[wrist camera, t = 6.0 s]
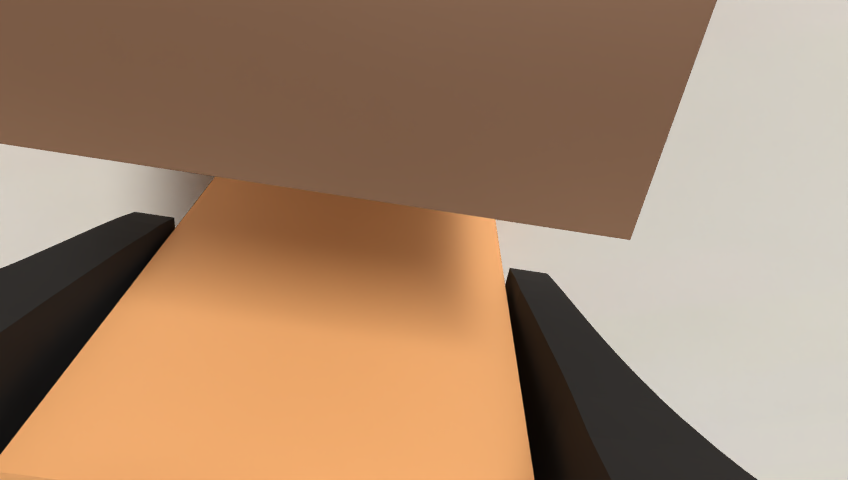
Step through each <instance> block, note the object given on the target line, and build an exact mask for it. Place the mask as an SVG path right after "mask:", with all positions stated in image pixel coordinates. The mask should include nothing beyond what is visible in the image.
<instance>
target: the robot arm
mask: <svg viewBox="0 0 848 480" xmlns="http://www.w3.org/2000/svg"><path fill="white" fill-rule="evenodd" d="M174 229H175V224H174V218H172V217H165V216H159V215H152V214H145V213H139V212H133V213H130V214H127V215H124V216H122V217H119V218H117V219H114V220H112V221H109V222H107V223H104V224H102V225H100V226H97V227H95V228H93V229H91V230H88V231H86V232H84V233H82V234H79V235H77V236H75V237H73V238H70V239H68V240H66V241H64V242H61V243H59V244H57V245H54V246H52V247H50V248H48V249H45V250H43V251H41V252H39V253H36V254H34V255H32V256H29V257H27V258H25V259H23V260H20V261H18V262H16V263H13V264H11V265H8V266H6V267H3V268H1V269H0V454H1V453H2V452H3V451H4V449H5V448H6V447H7V445H8V444H9V443H10V442H11V440H12V439H13V438H14V436H15V435H16V434H17V432H18V431H19V430H20V429H21V427H22V426H23V425H24V423H25V422H26V421H27V420H28V418H29V417H30V416H31V414H32V413H33V412H34V410H35V409H36V408H37V407H38V405H39V404H40V403H41V401H42V400H43V399H44V398H45V396H46V395H47V394H48V392H49V391H50V390H51V389H52V387H53V386H54V385H55V383H56V382H57V381H58V379H59V378H60V377H61V376H62V374H63V373H64V372H65V370H66V369H67V368H68V367H69V365H70V364H71V363H72V361H73V360H74V359H75V357H76V356H77V355H78V354H79V352H80V351H81V350H82V348H83V347H84V346H85V345H86V343H87V342H88V341H89V339H90V338H91V337H92V335H93V334H94V333H95V332H96V330H97V329H98V328H99V326H100V325H101V324H102V323H103V321H104V320H105V319H106V317H107V316H108V315H109V313H110V312H111V311H112V310H113V308H114V307H115V306H116V304H117V303H118V302H119V301H120V299H121V298H122V297H123V295H124V294H125V293H126V291H127V290H128V289H129V288H130V286H131V285H132V284H133V282H134V281H135V280H136V279H137V277H138V276H139V275H140V273H141V272H142V271H143V269H144V268H145V267H146V266H147V264H148V263H149V262H150V260H151V259H152V258H153V257H154V255H155V254H156V253H157V251H158V250H159V249H160V247H161V246H162V245H163V244H164V242H165V241H166V240H167V238H168V237H169V236H170V235H171V233H172V232H173V231H174ZM505 288H506V295H507V301H508V308H509V315H510V321H511V328H512V334H513V341H514V348H515V354H516V361H517V368H518V374H519V381H520V387H521V394H522V401H523V407H524V414H525V420H526V427H527V434H528V440H529V447H530V454H531V460H532V467H533V473H534V480H757V479H756V478H754V477H753V476H752V475H750V474H749V473H748V472H746V471H745V470H744V469H742V468H741V467H740V466H738V465H737V464H736V463H735V462H733V461H732V460H731V459H730V458H728V457H727V456H726V455H725V454H723V453H722V452H721V451H720V450H718V449H717V448H716V447H715V446H714V445H712V444H711V443H710V442H709V441H708V440H707V439H705V438H704V437H703V436H702V435H701V434H700V433H698V432H697V431H696V430H695V429H694V428H693V427H691V426H690V425H689V424H688V423H687V422H686V421H684V420H683V419H682V418H681V417H680V416H679V415H678V414H676V413H675V412H674V411H673V410H672V409H671V408H670V407H669V406H668V405H667V404H666V403H665V402H663V401H662V400H661V399H660V398H659V397H658V396H657V395H656V394H655V393H654V392H653V391H652V390H651V389H650V388H649V387H648V386H647V385H646V384H645V383H644V382H643V381H642V380H641V379H640V378H639V377H638V376H637V375H636V374H635V373H634V372H633V371H632V370H631V369H630V368H629V366H628V365H627V364H626V363H625V362H624V361H623V360H622V359H621V358H620V357H619V356H618V355H617V354H616V353H615V351H614V350H613V349H612V348H611V347H610V346H609V345H608V344H607V343H606V341H605V340H604V339H603V338H602V337H601V336H600V335H599V334H598V332H597V331H596V330H595V329H594V328H593V327H592V325H591V324H590V323H589V322H588V321H587V320H586V318H585V317H584V316H583V315H582V314H581V313H580V311H579V310H578V309H577V308H576V307H575V305H574V304H573V303H572V302H571V301H570V299H569V298H568V297H567V296H566V295H565V293H564V292H563V291H562V290H561V289H560V287H559V286H558V285H557V284H556V283H555V282H554V281H553V279H552V278H551V277H550V276H549V275H548V274H546V273H540V272H533V271H526V270H519V269H513V268H510V269H509V273H508V277H507V281H506V284H505Z"/></svg>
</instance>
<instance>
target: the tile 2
mask: <svg viewBox="0 0 848 480" xmlns="http://www.w3.org/2000/svg"><path fill="white" fill-rule="evenodd" d="M716 1H717V0H0V143H1V144H7V145H14V146H20V147H27V148H33V149H40V150H46V151H53V152H59V153H66V154H72V155H79V156H86V157H92V158H99V159H105V160H112V161H118V162H125V163H131V164H138V165H144V166H151V167H157V168H164V169H170V170H177V171H183V172H190V173H196V174H203V175H210V176H216V177H223V178H229V179H236V180H242V181H249V182H255V183H262V184H268V185H275V186H281V187H288V188H294V189H301V190H307V191H314V192H321V193H327V194H334V195H340V196H347V197H353V198H360V199H366V200H373V201H379V202H386V203H392V204H399V205H405V206H412V207H418V208H425V209H431V210H438V211H445V212H451V213H458V214H464V215H471V216H477V217H484V218H490V219H497V220H503V221H510V222H516V223H523V224H529V225H536V226H542V227H549V228H555V229H562V230H569V231H575V232H582V233H588V234H595V235H601V236H608V237H614V238H621V239H627V240H630V239H631V236H632V233H633V230H634V228H635V225H636V222H637V219H638V217H639V214H640V211H641V208H642V206H643V203H644V200H645V197H646V195H647V192H648V189H649V186H650V184H651V181H652V178H653V175H654V172H655V170H656V167H657V164H658V161H659V159H660V156H661V153H662V150H663V148H664V145H665V142H666V139H667V137H668V134H669V131H670V128H671V126H672V123H673V120H674V117H675V114H676V112H677V109H678V106H679V103H680V101H681V98H682V95H683V92H684V90H685V87H686V84H687V81H688V79H689V76H690V73H691V70H692V68H693V65H694V62H695V59H696V57H697V54H698V51H699V48H700V45H701V43H702V40H703V37H704V34H705V32H706V29H707V26H708V23H709V21H710V18H711V15H712V12H713V10H714V7H715V4H716Z"/></svg>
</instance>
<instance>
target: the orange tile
mask: <svg viewBox="0 0 848 480" xmlns="http://www.w3.org/2000/svg"><path fill="white" fill-rule="evenodd" d="M0 480H534V473H533V467H532V460H531V454H530V447H529V440H528V434H527V427H526V420H525V414H524V407H523V401H522V394H521V387H520V381H519V374H518V368H517V361H516V354H515V348H514V341H513V334H512V328H511V321H510V315H509V308H508V301H507V295H506V288H505V282H504V275H503V268H502V262H501V255H500V248H499V242H498V235H497V229H496V222H495V219H490V218H484V217H477V216H471V215H464V214H458V213H451V212H445V211H438V210H431V209H425V208H418V207H412V206H405V205H399V204H392V203H386V202H379V201H373V200H366V199H360V198H353V197H347V196H340V195H334V194H327V193H321V192H314V191H307V190H301V189H294V188H288V187H281V186H275V185H268V184H262V183H255V182H249V181H242V180H236V179H229V178H223V177H216V176H215V178H214V179H213V180H212V182H211V183H210V184H209V185H208V187H207V188H206V189H205V191H204V192H203V193H202V194H201V196H200V197H199V198H198V200H197V201H196V202H195V204H194V205H193V206H192V207H191V209H190V210H189V211H188V213H187V214H186V215H185V216H184V218H183V219H182V220H181V222H180V223H179V224H178V225H177V227H176V228H175V229H174V231H173V232H172V233H171V235H170V236H169V237H168V238H167V240H166V241H165V242H164V244H163V245H162V246H161V247H160V249H159V250H158V251H157V253H156V254H155V255H154V257H153V258H152V259H151V260H150V262H149V263H148V264H147V266H146V267H145V268H144V269H143V271H142V272H141V273H140V275H139V276H138V277H137V279H136V280H135V281H134V282H133V284H132V285H131V286H130V288H129V289H128V290H127V291H126V293H125V294H124V295H123V297H122V298H121V299H120V301H119V302H118V303H117V304H116V306H115V307H114V308H113V310H112V311H111V312H110V313H109V315H108V316H107V317H106V319H105V320H104V321H103V323H102V324H101V325H100V326H99V328H98V329H97V330H96V332H95V333H94V334H93V335H92V337H91V338H90V339H89V341H88V342H87V343H86V345H85V346H84V347H83V348H82V350H81V351H80V352H79V354H78V355H77V356H76V357H75V359H74V360H73V361H72V363H71V364H70V365H69V367H68V368H67V369H66V370H65V372H64V373H63V374H62V376H61V377H60V378H59V379H58V381H57V382H56V383H55V385H54V386H53V387H52V389H51V390H50V391H49V392H48V394H47V395H46V396H45V398H44V399H43V400H42V401H41V403H40V404H39V405H38V407H37V408H36V409H35V410H34V412H33V413H32V414H31V416H30V417H29V418H28V420H27V421H26V422H25V423H24V425H23V426H22V427H21V429H20V430H19V431H18V432H17V434H16V435H15V436H14V438H13V439H12V440H11V442H10V443H9V444H8V445H7V447H6V448H5V449H4V451H3V452H2V453H1V454H0Z"/></svg>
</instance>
